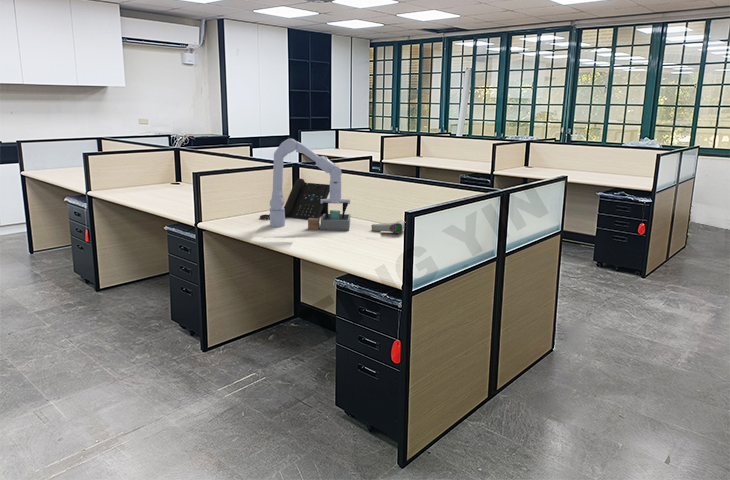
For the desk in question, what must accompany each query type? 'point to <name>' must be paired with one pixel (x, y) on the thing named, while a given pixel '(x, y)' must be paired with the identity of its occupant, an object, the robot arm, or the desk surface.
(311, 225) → the walnut cube
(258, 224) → the desk surface
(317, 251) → the desk surface
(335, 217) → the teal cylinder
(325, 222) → the charcoal tote
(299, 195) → the office phone
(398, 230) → the infrared thermometer
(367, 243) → the desk surface
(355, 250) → the desk surface
